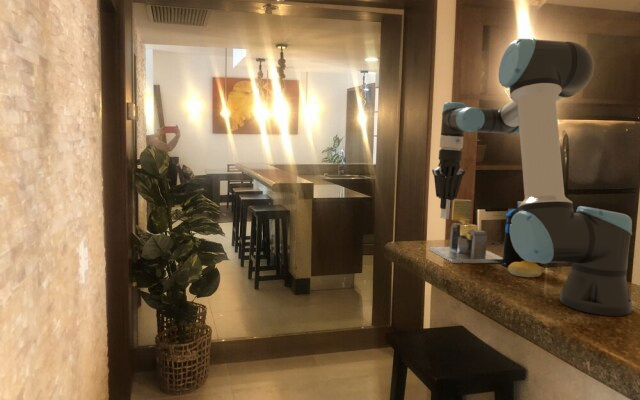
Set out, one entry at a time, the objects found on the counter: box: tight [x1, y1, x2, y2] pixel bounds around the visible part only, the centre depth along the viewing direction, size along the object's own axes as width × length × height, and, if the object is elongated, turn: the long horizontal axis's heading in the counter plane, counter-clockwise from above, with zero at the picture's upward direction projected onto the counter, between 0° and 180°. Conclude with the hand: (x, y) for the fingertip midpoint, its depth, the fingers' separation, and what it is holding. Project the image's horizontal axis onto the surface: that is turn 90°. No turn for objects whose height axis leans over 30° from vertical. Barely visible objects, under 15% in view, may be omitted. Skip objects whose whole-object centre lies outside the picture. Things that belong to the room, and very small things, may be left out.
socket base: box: [429, 222, 503, 264], centre depth 174 cm, size 18×18×10 cm
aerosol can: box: [501, 201, 525, 268], centre depth 163 cm, size 8×8×20 cm
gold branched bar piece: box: [451, 198, 478, 240], centre depth 176 cm, size 6×18×11 cm, turn 0°
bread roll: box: [507, 260, 542, 279], centre depth 154 cm, size 8×9×4 cm
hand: (444, 218), depth 182 cm, fingers closed
